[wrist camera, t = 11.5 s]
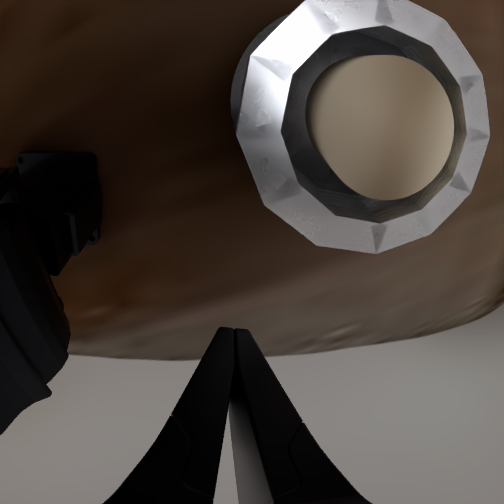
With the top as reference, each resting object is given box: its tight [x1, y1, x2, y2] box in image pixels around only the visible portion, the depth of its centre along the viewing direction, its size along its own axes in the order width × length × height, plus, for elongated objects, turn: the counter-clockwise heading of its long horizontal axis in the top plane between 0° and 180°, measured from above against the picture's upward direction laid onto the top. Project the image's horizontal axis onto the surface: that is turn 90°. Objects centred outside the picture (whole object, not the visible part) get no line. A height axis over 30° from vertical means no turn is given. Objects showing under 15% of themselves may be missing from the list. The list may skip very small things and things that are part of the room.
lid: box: [305, 55, 454, 200], centre depth 12 cm, size 6×6×3 cm
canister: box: [230, 0, 490, 254], centre depth 13 cm, size 12×12×7 cm
